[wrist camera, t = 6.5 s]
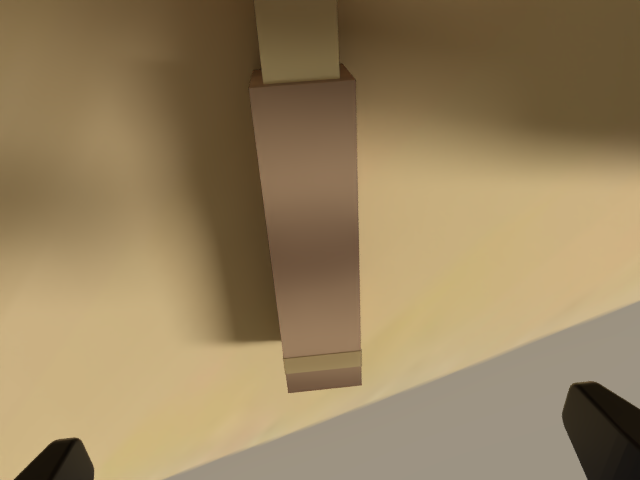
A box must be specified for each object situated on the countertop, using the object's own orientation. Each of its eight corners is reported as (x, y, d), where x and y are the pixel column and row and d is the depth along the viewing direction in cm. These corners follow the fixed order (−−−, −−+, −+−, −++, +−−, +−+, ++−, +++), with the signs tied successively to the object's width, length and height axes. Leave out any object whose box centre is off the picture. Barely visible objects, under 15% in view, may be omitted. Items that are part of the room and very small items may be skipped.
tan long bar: (351, 336, 22) (362, 386, 19) (286, 342, 21) (287, 393, 19) (339, -41, 14) (354, -46, 11) (239, -35, 14) (231, -38, 11)
